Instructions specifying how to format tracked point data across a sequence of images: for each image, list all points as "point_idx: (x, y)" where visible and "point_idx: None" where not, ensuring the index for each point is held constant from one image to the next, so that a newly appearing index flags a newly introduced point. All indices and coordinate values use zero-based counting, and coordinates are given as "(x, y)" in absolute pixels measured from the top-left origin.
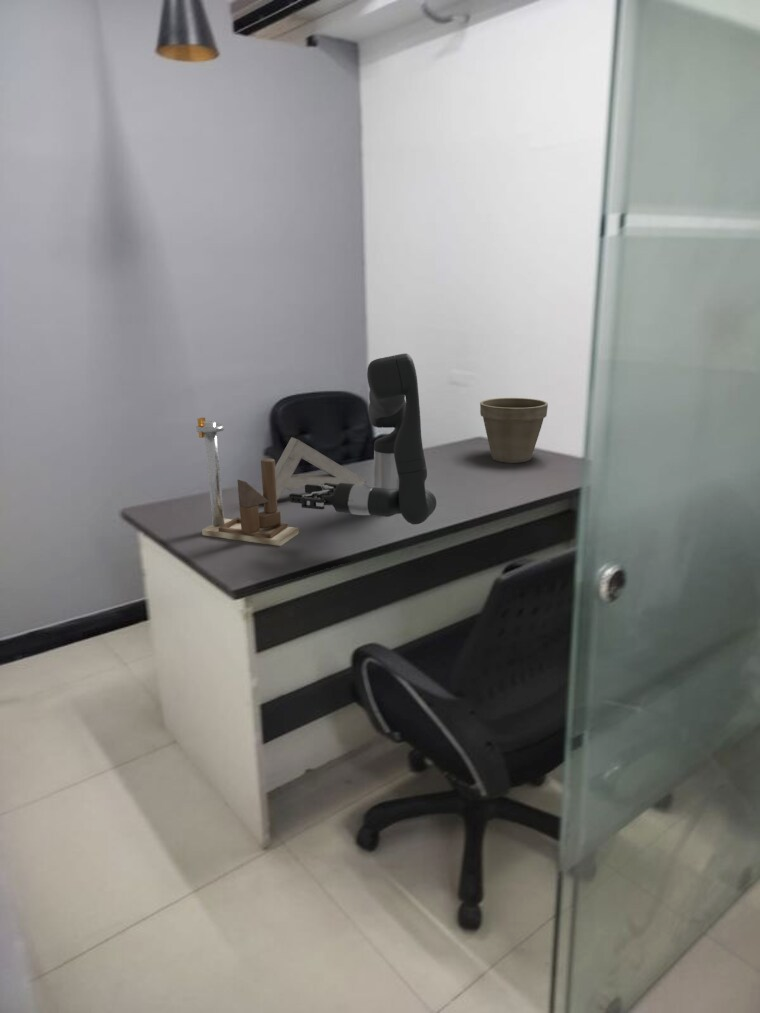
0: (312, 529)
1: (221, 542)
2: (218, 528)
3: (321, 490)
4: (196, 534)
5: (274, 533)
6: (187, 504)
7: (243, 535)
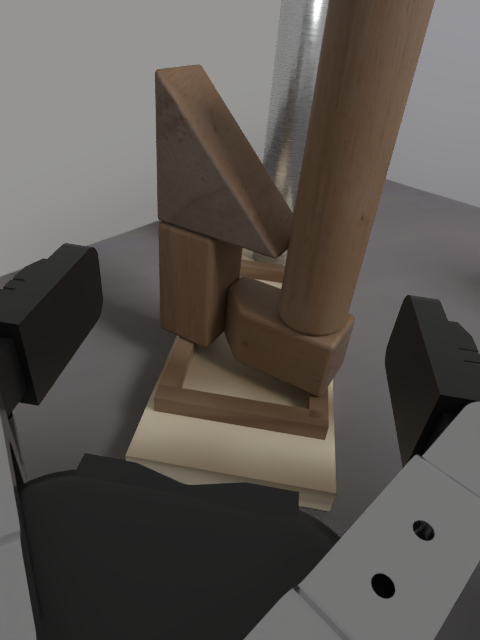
0: None
1: None
2: None
3: (259, 496)
4: None
5: (186, 406)
6: (413, 205)
7: None
